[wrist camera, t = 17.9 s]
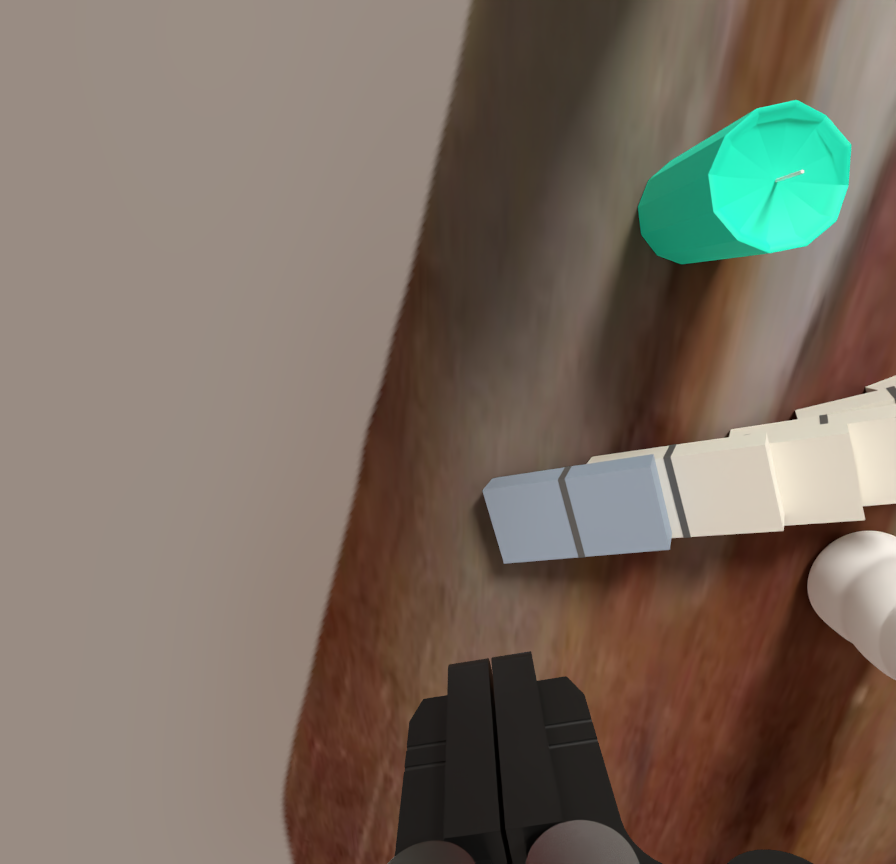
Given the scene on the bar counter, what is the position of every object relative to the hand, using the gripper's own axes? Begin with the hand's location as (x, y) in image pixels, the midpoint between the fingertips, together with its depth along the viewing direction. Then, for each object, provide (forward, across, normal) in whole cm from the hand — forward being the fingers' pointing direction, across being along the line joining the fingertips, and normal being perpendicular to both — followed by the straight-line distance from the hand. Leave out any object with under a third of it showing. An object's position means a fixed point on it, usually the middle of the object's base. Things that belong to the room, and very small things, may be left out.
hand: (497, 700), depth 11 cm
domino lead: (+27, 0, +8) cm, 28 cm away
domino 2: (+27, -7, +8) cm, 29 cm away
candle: (+29, -14, -8) cm, 33 cm away
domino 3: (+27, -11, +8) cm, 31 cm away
